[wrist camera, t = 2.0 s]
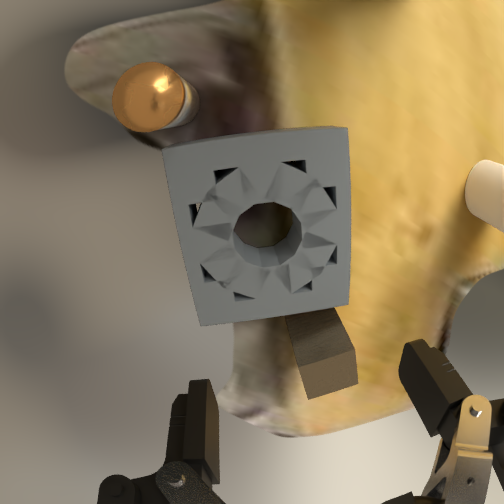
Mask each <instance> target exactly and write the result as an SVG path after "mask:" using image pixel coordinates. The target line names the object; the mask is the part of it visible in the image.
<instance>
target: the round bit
mask: <svg viewBox="0 0 504 504" xmlns="http://www.w3.org/2000/svg"><path fill="white" fill-rule="evenodd" d="M112 105H113V110H114V113H115V115H116V117H117V119H118V120H119V121H120V122H121V123H122V124H123V125H124V126H125V127H127V128H129V129H131V130H133V131H137V132H150V131H155V130H160V129H165V128H170V127H176V126H181V125H184V124H187V123H188V122H190V121H191V120H192V119H193V118H194V117H195V116H196V115H197V113H198V111H199V108H200V97H199V94H198V92H197V90H196V89H195V88H194V87H193V86H192V85H191V84H189V83H188V82H187V81H186V80H184V79H183V78H182V77H181V76H179V75H178V74H177V73H176V72H174V71H173V70H172V69H170V68H169V67H167V66H166V65H163V64H161V63H156V62H146V63H141V64H138V65H136V66H134V67H132V68H130V69H129V70H127V71H126V72H125V73H124V74H123V75H122V76H121V77H120V79H119V80H118V82H117V84H116V86H115V88H114V91H113V96H112Z"/></svg>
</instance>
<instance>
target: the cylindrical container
mask: <svg viewBox="0 0 504 504" xmlns="http://www.w3.org/2000/svg"><path fill="white" fill-rule="evenodd" d="M465 200H466V204H467V207H468V209H469V211H470V212H471V213H472V214H473V215H474V216H476V217H478V218H480V219H481V220H483V221H485V222H487V223H488V224H490V225H492V226H493V227H495V228H497V229H498V230H500V231H502V232H503V233H504V165H502V164H499V163H496V162H493V161H490V160H482V161H480V162H478V163H477V164H476V165H474V167H473V168H472V169H471V171H470V173H469V175H468V178H467V181H466V186H465Z"/></svg>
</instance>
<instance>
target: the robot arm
mask: <svg viewBox="0 0 504 504" xmlns="http://www.w3.org/2000/svg"><path fill="white" fill-rule="evenodd" d="M398 372H399V378H400V381H401V383H402V384H403V386H404V388H405V390H406V392H407V393H408V395H409V397H410V399H411V401H412V403H413V404H414V406H415V408H416V410H417V412H418V414H419V416H420V417H421V419H422V421H423V423H424V425H425V427H426V429H427V431H428V433H429V435H430V437H433V436H435V435H437V434H440V435H441V437H442V438H441V440H440V443H439V447H438V451H437V455H436V459H435V462H434V466H433V469H432V472H431V476H430V478H429V481H428V482H427V484H426V486H425V488H424V490H423V492H422V495H421V496H413V494H412V492H409V493H407V494H404V495H401V496H399V497H396V498H393V499H390V500H388V501H385V502H384V503H382V504H484V502H485V498H486V494H487V489H488V484H489V478H490V473H491V467H492V466H493V468H494V470H495V472H496V475H497V477H498V479H499V481H500V484H501V486H502V488H503V491H504V399H498V400H492V401H488V400H487V399H486V398H485V397H483V396H480V395H473V394H472V392H471V391H470V390H469V388H468V387H467V385H466V384H465V382H464V381H463V379H462V378H461V377H460V375H459V374H458V373H457V371H456V370H454V367H453V366H452V364H451V363H450V362H449V360H448V359H447V357H446V356H445V355H444V353H442V352H441V351H439V350H438V349H436V348H435V347H432V348H430V347H429V346H428V344H427V343H426V342H425V340H423V339H418V340H415V341H412V342H408V343H406V344H405V345H404V349H403V353H402V357H401V361H400V365H399V370H398ZM212 484H220V470H219V410H218V404H217V400H216V398H215V395H214V392H213V389H212V385H211V382H210V380H209V379H202V380H191V381H190V382H189V389H188V394H179V395H178V396H177V398H176V399H175V401H174V403H173V404H172V410H171V418H170V427H169V433H168V441H167V450H166V458H165V462H164V464H163V466H162V467H161V468H160V469H159V470H158V471H157V472H155V473H154V474H152V475H149V476H145V477H141V478H136V479H131V480H130V479H129V478H127V477H125V476H123V475H111V476H109V477H107V478H106V479H104V480H103V482H102V483H101V485H100V488H99V494H98V502H97V504H226V503H225V502H224V501H223V500H222V499H221V498H220V497H219V496H218V495H217V494H216V493H215V492H214V491H213V490H212Z"/></svg>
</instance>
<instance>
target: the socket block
mask: <svg viewBox="0 0 504 504" xmlns="http://www.w3.org/2000/svg"><path fill="white" fill-rule="evenodd" d="M162 154H163V160H164V166H165V171H166V177H167V182H168V188H169V193H170V198H171V203H172V208H173V213H174V217H175V222H176V227H177V232H178V236H179V241H180V245H181V249H182V253H183V258H184V262H185V267H186V271H187V275H188V279H189V283H190V287H191V291H192V295H193V299H194V303H195V307H196V311H197V315H198V318H199V322H200V326H208V325H217V324H225V323H234V322H241V321H249V320H256V319H264V318H271V317H277V316H284V315H290V314H297V313H303V312H309V311H315V310H321V309H327V308H332V307H338V306H343V305H348V304H349V286H350V261H351V182H350V157H349V139H348V128H345V127H337V126H317V127H301V128H289V129H277V130H267V131H258V132H249V133H241V134H233V135H226V136H219V137H212V138H206V139H200V140H194V141H188V142H183V143H177V144H172V145H169V146H167V147H165V148H163V149H162ZM287 161H296V165H294V164H292V163H289V162H287ZM221 169H225V170H223V171H222V172H221V173H220V174H218V175H217V170H221ZM267 202H276V203H278V204H281V205H283V206H286V207H288V208H291V209H292V218H293V224H292V226H291V228H290V230H289V232H288V234H287V236H286V237H285V238H284V239H283V240H281V241H280V242H278V243H277V244H276V245H274V246H270V247H262V248H256V247H254V246H251V245H248V244H245V243H243V242H242V240H241V239H240V238H239V237H238V236H237V234H236V233H235V232H234V226H235V224H236V222H237V219H238V217H239V215H240V214H242V213H243V212H245V211H246V210H247V209H249V208H250V207H251V206H253V205H254V204H259V203H267ZM196 203H201V204H200V207H199V210H198V212H197V208H196Z"/></svg>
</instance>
